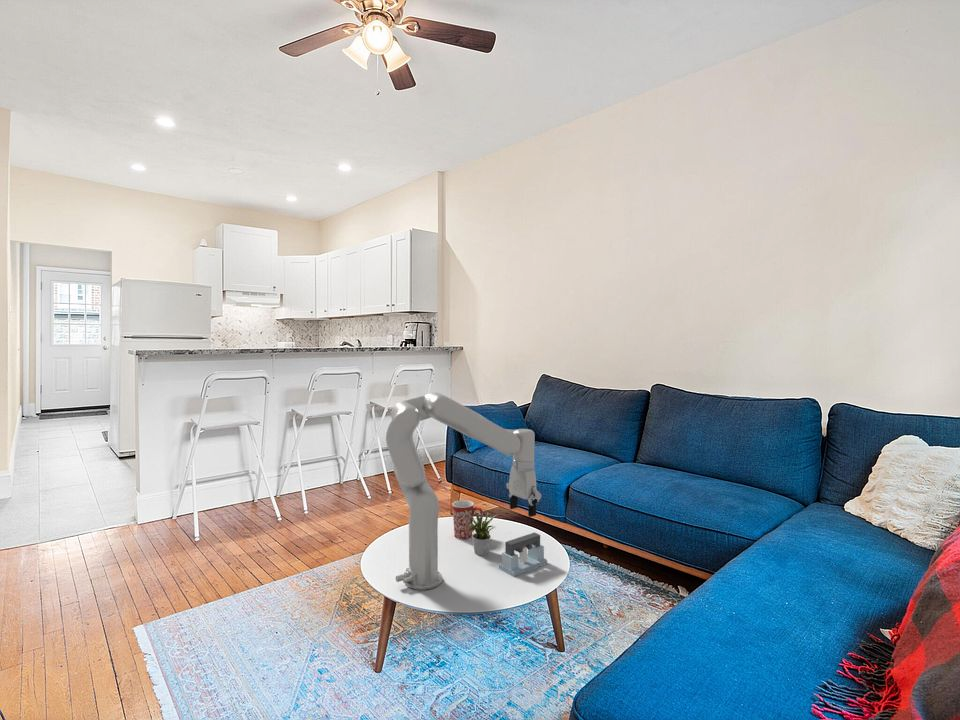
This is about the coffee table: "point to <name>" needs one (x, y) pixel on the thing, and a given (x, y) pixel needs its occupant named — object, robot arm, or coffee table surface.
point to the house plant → (480, 534)
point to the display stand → (523, 560)
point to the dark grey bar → (522, 543)
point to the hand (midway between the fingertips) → (522, 512)
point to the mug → (460, 522)
